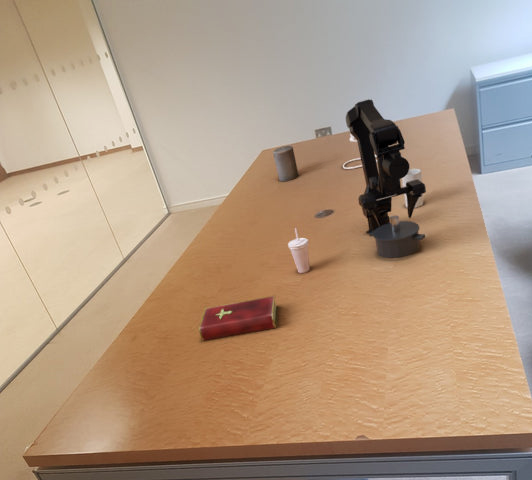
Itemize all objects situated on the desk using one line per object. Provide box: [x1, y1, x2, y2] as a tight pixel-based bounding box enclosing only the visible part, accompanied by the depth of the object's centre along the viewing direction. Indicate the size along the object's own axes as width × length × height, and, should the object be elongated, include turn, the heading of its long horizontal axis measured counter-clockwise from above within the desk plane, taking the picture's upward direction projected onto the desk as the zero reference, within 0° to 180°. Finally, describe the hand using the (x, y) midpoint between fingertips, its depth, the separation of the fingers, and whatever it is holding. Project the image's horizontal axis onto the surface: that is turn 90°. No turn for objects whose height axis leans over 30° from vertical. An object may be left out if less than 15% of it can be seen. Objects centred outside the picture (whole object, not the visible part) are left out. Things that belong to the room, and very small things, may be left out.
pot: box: [368, 230, 426, 260], centre depth 172 cm, size 13×18×6 cm
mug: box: [401, 168, 424, 209], centre depth 201 cm, size 10×7×12 cm, turn 161°
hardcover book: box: [198, 294, 279, 341], centre depth 158 cm, size 12×21×4 cm, turn 87°
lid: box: [372, 214, 420, 241], centre depth 170 cm, size 14×14×5 cm
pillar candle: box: [272, 145, 300, 182], centre depth 266 cm, size 10×10×15 cm
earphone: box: [342, 133, 378, 170], centre depth 260 cm, size 14×17×18 cm
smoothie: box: [287, 227, 311, 274], centre depth 175 cm, size 6×6×14 cm
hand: (394, 221), depth 169 cm, fingers open, 9 cm apart
